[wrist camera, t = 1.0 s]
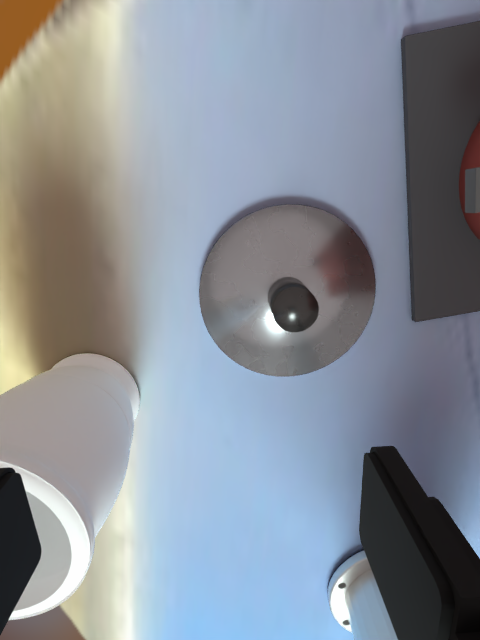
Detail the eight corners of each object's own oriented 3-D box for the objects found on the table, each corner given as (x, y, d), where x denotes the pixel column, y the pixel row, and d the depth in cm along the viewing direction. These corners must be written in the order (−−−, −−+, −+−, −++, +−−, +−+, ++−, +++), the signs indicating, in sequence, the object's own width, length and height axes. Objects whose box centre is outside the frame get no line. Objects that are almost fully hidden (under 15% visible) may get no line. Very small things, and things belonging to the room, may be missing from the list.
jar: (52, 320, 30) (-109, 425, 16) (170, 368, 32) (119, 503, 17) (18, 423, 33) (-144, 590, 19) (128, 462, 35) (54, 645, 20)
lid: (376, 356, 32) (401, 383, 27) (218, 383, 33) (216, 414, 28) (364, 188, 28) (391, 185, 23) (183, 222, 29) (173, 226, 24)
